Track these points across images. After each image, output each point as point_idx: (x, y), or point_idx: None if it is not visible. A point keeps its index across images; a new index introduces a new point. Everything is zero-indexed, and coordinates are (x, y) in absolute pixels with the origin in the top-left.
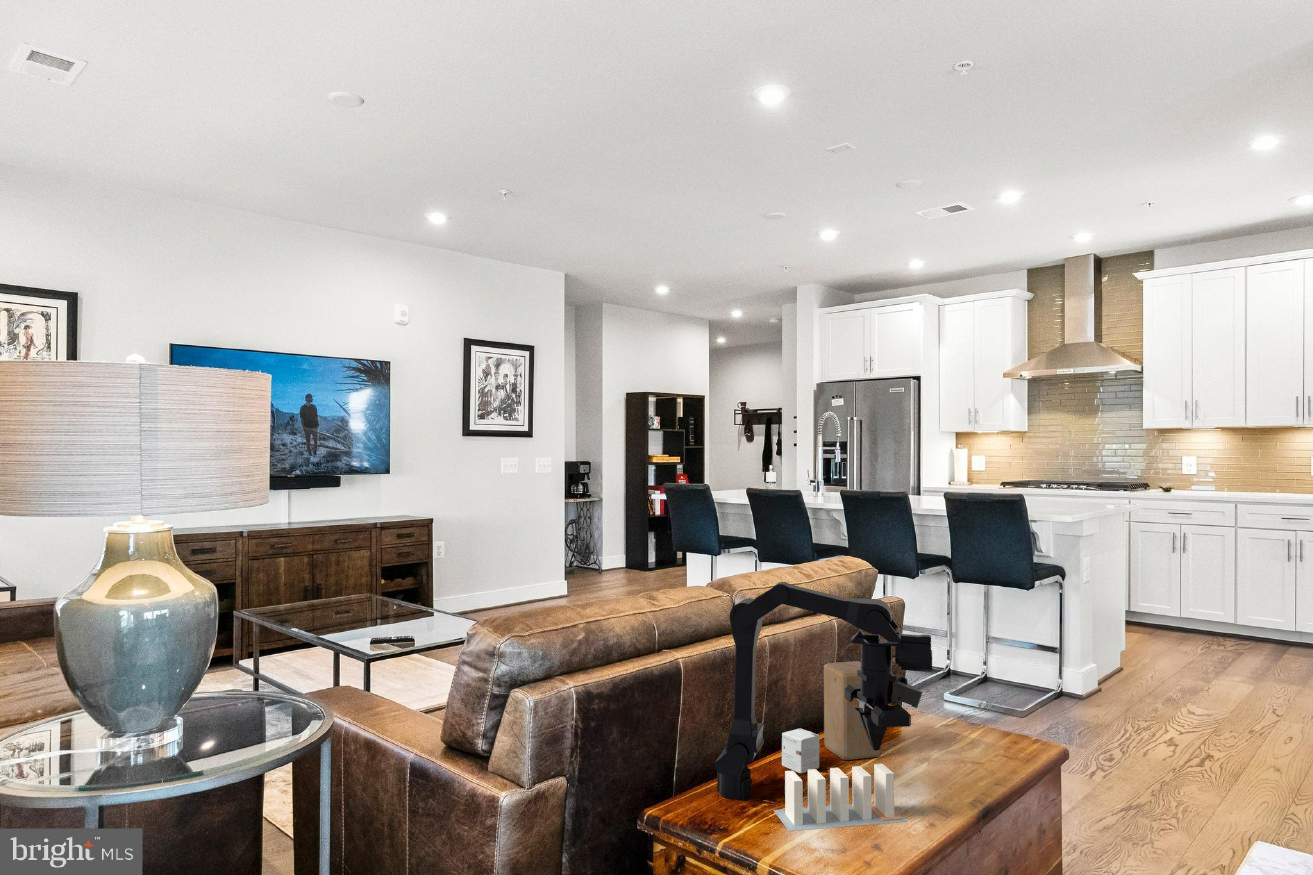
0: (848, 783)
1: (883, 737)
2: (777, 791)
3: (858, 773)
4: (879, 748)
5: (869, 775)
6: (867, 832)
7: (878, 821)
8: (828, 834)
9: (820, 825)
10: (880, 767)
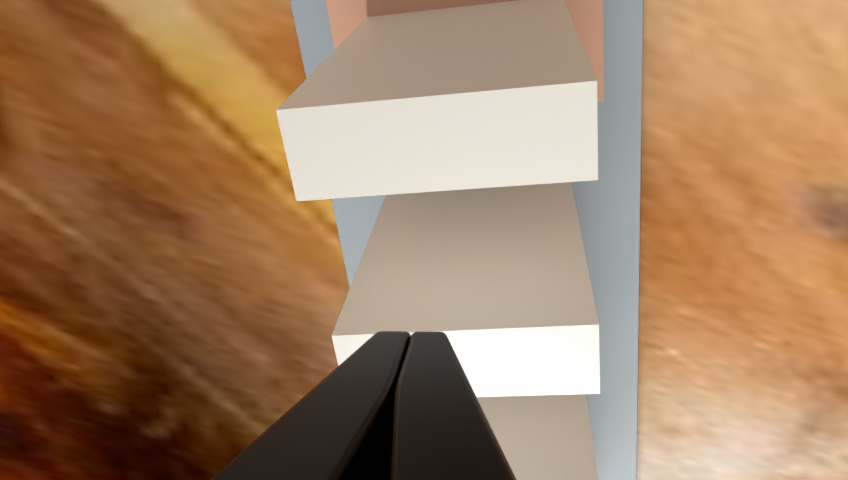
0: (593, 461)
1: (508, 465)
2: (136, 463)
3: (488, 387)
4: (453, 350)
5: (584, 334)
6: (662, 206)
7: (607, 128)
8: (642, 396)
9: (601, 437)
10: (398, 168)
